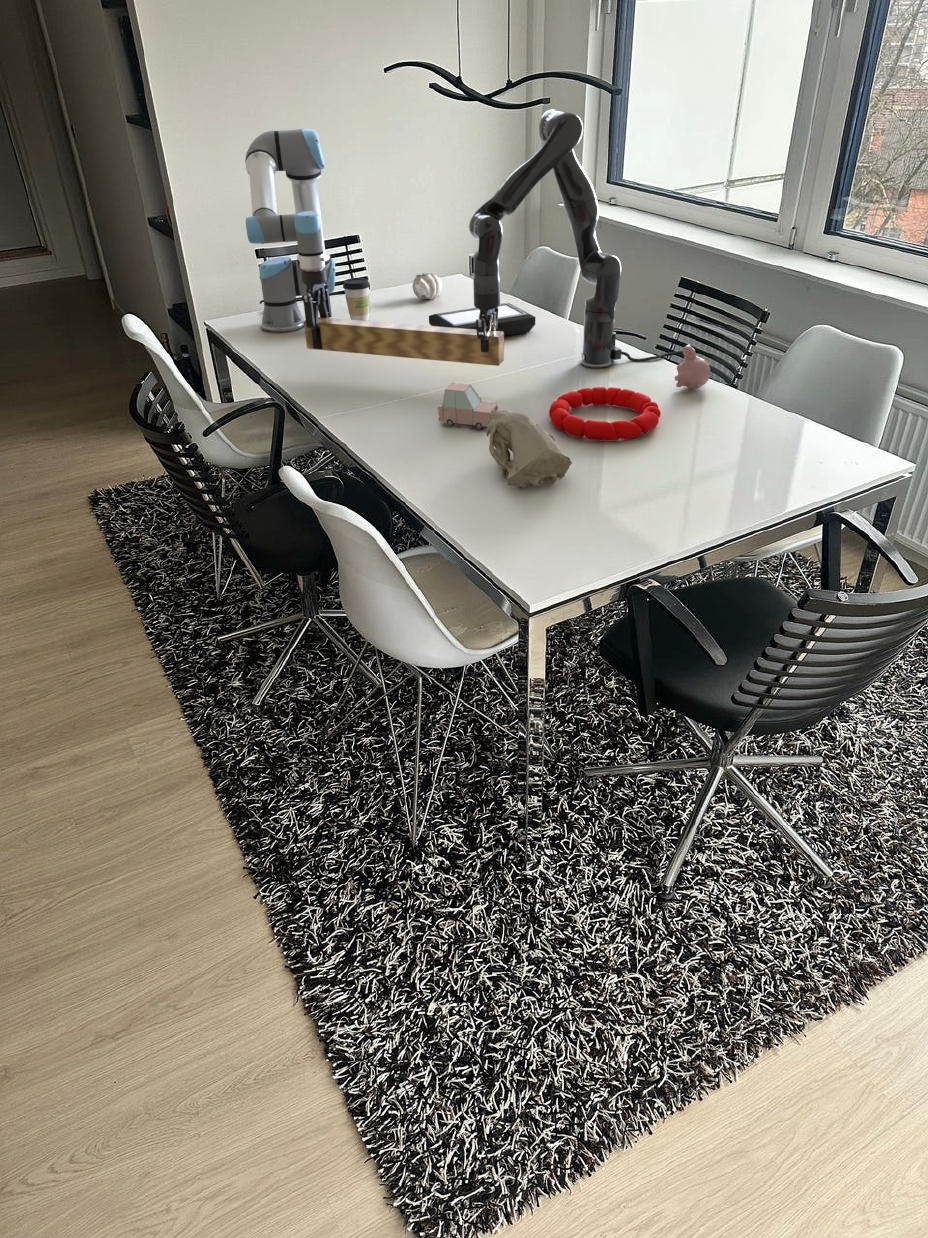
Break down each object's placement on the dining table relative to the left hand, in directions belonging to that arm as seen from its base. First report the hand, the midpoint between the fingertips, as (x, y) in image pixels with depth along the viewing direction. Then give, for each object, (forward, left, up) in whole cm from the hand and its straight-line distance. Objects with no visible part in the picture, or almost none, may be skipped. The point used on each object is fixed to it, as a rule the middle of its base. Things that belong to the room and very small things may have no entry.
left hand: (322, 345), depth 281 cm
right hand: (+28, +48, +3) cm, 55 cm away
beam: (+14, +24, -1) cm, 28 cm away
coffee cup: (-49, +15, -8) cm, 52 cm away
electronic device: (-26, +56, -8) cm, 63 cm away
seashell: (-74, +44, -8) cm, 87 cm away
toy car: (+54, +37, -8) cm, 66 cm away
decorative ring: (+63, +73, -8) cm, 97 cm away
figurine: (+44, +105, -8) cm, 114 cm away
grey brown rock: (+87, +44, -8) cm, 98 cm away
